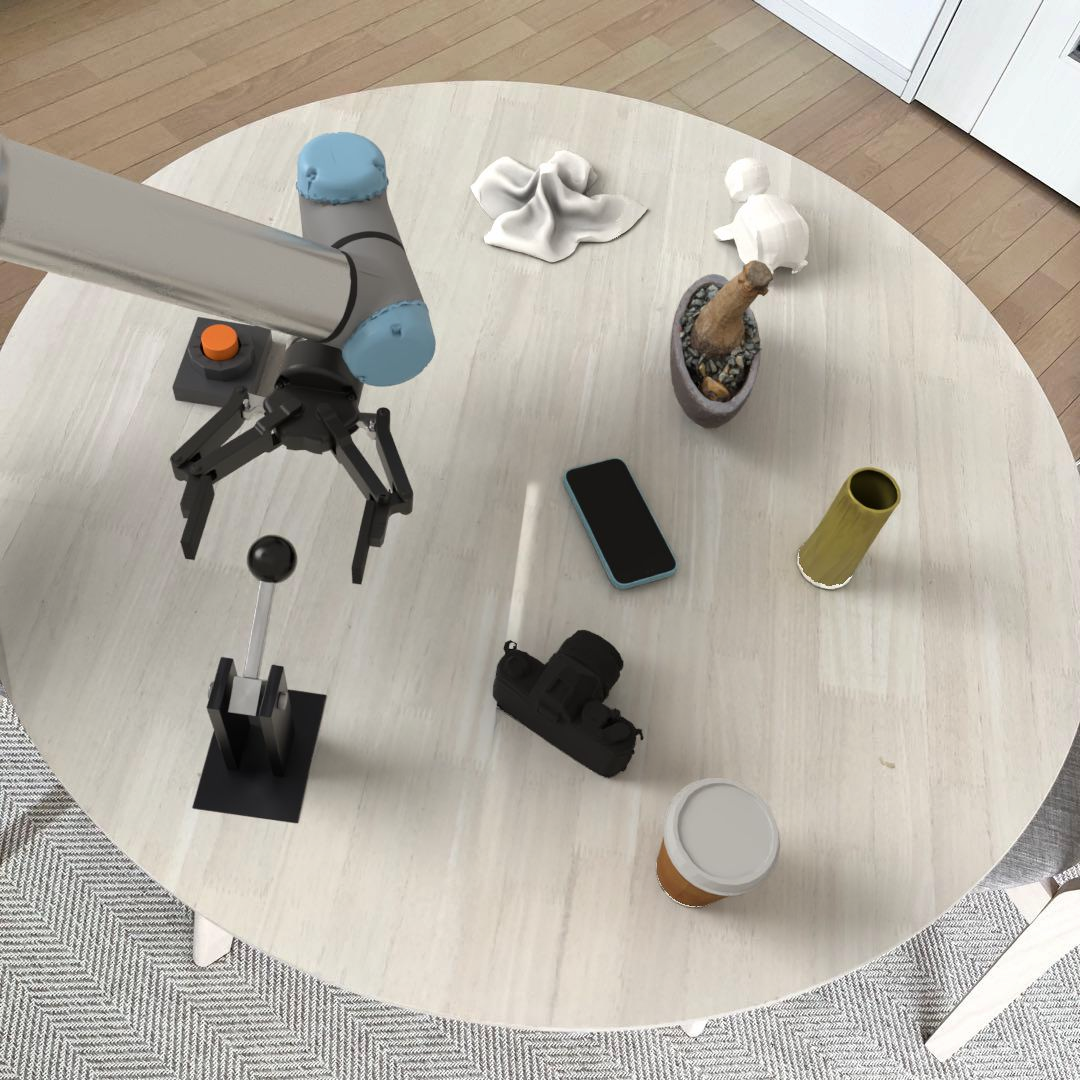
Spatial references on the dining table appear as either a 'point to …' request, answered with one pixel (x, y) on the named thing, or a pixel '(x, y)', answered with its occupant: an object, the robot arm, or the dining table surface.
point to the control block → (221, 365)
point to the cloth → (546, 206)
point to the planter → (717, 345)
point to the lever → (261, 616)
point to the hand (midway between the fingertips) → (272, 564)
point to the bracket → (259, 749)
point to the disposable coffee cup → (716, 842)
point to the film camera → (570, 700)
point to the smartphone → (620, 523)
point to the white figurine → (763, 220)
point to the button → (220, 342)
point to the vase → (849, 526)
